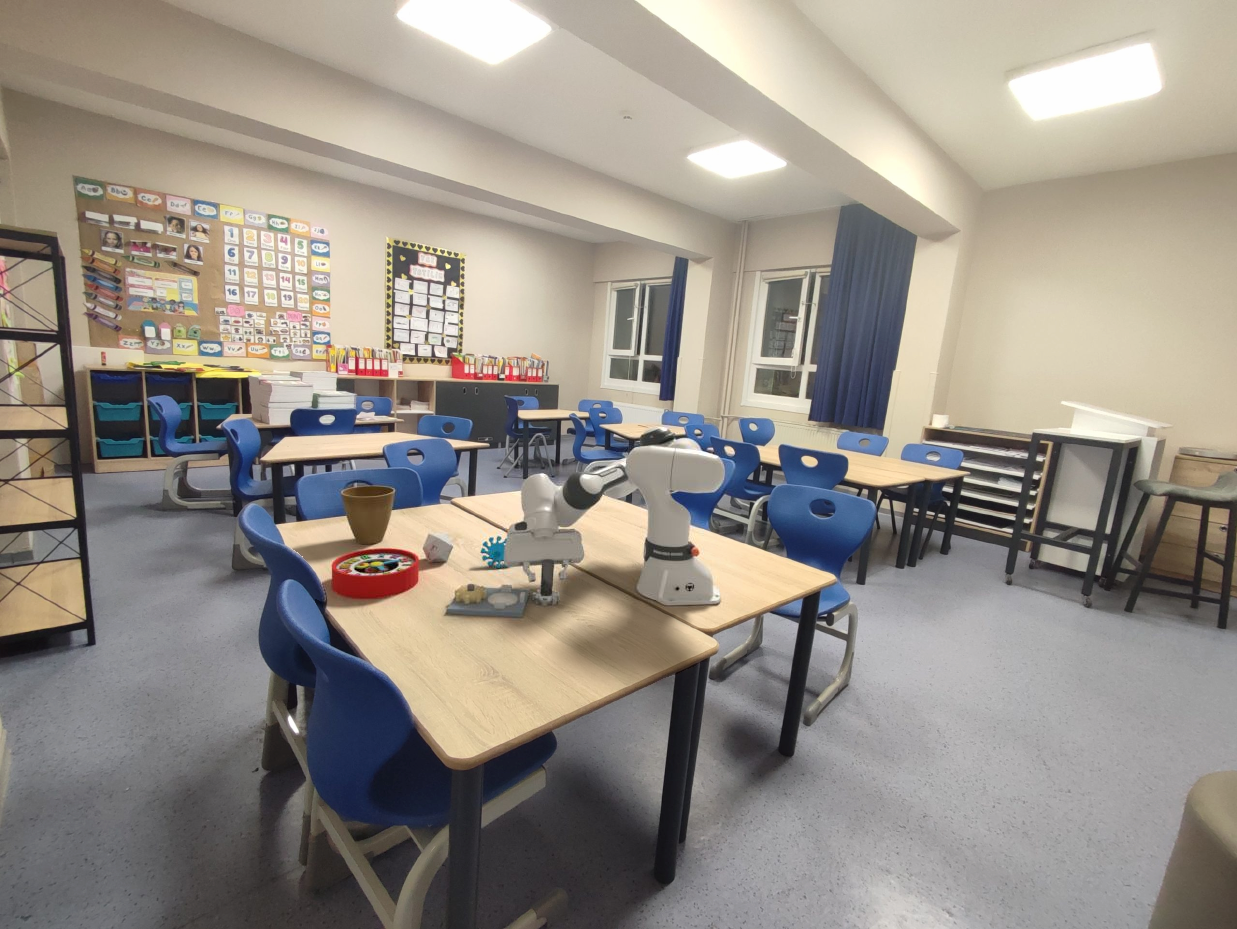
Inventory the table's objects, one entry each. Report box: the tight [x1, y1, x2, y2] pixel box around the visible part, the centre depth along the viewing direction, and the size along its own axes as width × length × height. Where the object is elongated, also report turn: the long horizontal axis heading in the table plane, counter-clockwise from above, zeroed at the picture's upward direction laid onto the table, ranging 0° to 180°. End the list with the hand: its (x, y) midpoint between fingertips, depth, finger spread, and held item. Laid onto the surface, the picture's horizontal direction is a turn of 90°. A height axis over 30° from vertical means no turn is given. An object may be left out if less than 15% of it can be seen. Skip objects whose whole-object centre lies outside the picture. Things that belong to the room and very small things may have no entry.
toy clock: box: [331, 547, 420, 600], centre depth 134 cm, size 20×6×20 cm
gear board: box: [446, 583, 531, 619], centre depth 127 cm, size 17×13×4 cm
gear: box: [532, 559, 561, 607], centre depth 130 cm, size 7×7×10 cm
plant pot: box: [340, 485, 396, 545], centre depth 163 cm, size 15×15×16 cm
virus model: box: [480, 535, 508, 570], centre depth 154 cm, size 11×6×10 cm
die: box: [422, 532, 454, 563], centre depth 152 cm, size 8×9×10 cm
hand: (547, 580), depth 130 cm, fingers open, 6 cm apart
